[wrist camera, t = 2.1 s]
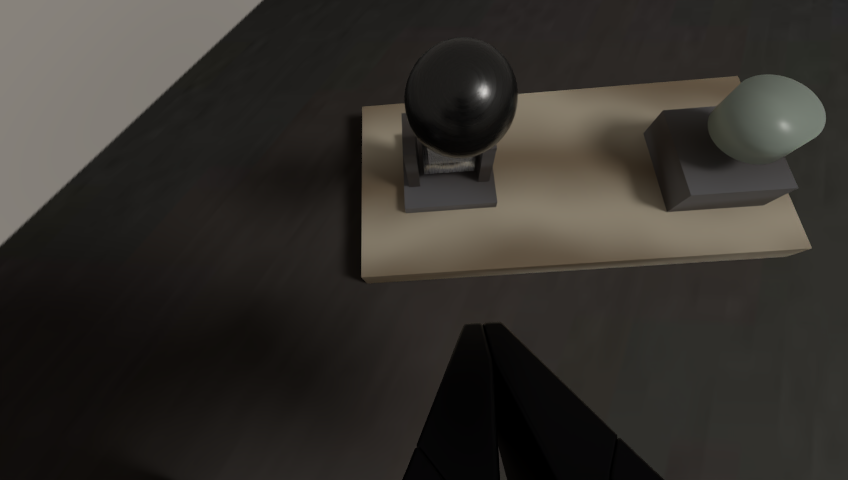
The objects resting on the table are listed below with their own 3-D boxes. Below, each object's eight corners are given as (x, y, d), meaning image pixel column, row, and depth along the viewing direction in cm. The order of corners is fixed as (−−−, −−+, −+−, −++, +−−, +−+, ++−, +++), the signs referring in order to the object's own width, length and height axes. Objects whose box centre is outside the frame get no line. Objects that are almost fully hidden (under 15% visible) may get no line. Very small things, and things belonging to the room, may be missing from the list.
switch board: (785, 256, 20) (902, 219, 15) (367, 283, 20) (341, 257, 15) (720, 93, 23) (795, 19, 18) (367, 122, 24) (346, 58, 19)
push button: (803, 161, 16) (840, 140, 15) (721, 167, 16) (750, 147, 15) (774, 96, 17) (805, 71, 16) (697, 102, 17) (721, 77, 16)
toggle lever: (475, 179, 20) (534, 145, 8) (422, 183, 20) (404, 154, 8) (472, 124, 20) (528, 6, 8) (418, 128, 20) (393, 19, 8)
